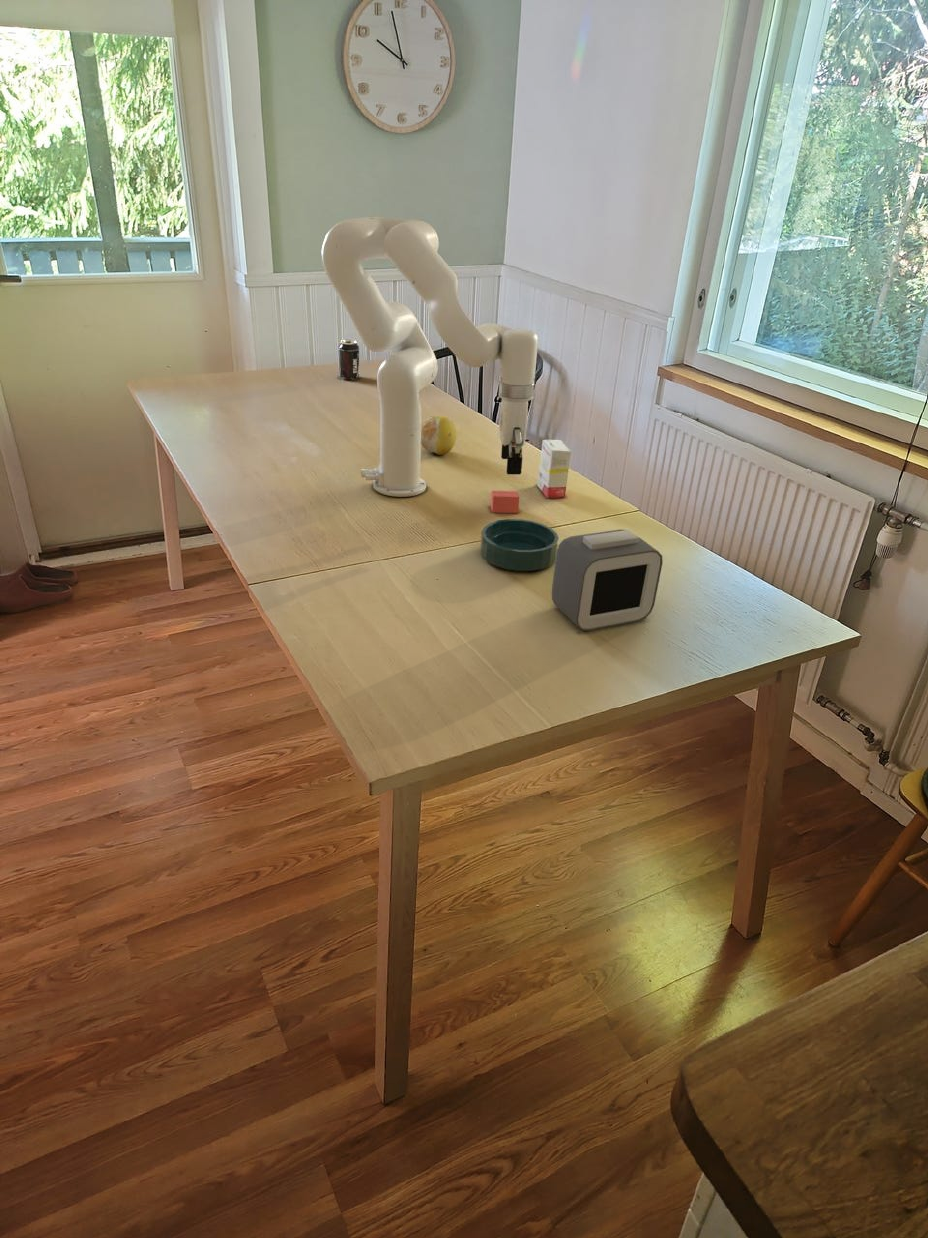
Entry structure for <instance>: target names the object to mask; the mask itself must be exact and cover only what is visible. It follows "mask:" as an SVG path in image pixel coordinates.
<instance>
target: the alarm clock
mask: <svg viewBox="0 0 928 1238" xmlns="http://www.w3.org/2000/svg"><path fill="white" fill-rule="evenodd" d="M662 569H663V555H662V554H661V553H660V551H658V550H657V549H656V548H655V547H653V546H652V545H650V544H649V543H648V542H647V541H645V540H644V539H642V538H641V537H640V536H638V535H637V534H636V533H634V532H633V531H631V530H630V529H614V530H606V531H599V532H592V533H586V534H578V535H573V536H572V535H570V536H568V537H566V538H564V539H563V540H561V541H560V543H558V548H557V553H556V559H555V562H554V569H553V577H552V585H551V593H550V594H551V600H552V602H553V604H554V605H555V606H556V607H557V608H558V610H560V611H561V612H562V613H563V614H564V615H565V616H566V617H567V618H568V620H570V621H571V622H572V623H573V624H574V625H575V626H576V627H577V628H578V629H580V630H581V631H583V632H592V631H596V630H602V629H607V628H612V627H617V626H622V625H627V624H632V623H638V622H641V621H643V620H645V619H646V618H647V617H649V615H651V613H652V611H653V610H654V607H655V602H656V598H657V593H658V587H659V582H660V578H661V574H662Z"/></svg>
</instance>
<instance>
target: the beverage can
mask: <svg viewBox="0 0 928 1238" xmlns="http://www.w3.org/2000/svg"><path fill="white" fill-rule="evenodd" d="M339 341H340V342H339V344H338V346H337V348H338V349H337V351H338V353H337V354H338V377H339V378H341V379H342V380H345V381H353V380H357V379H358V378H359V377H360V346H359V344H358V341H357V340H355V339H341V340H339Z"/></svg>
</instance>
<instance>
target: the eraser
mask: <svg viewBox="0 0 928 1238" xmlns="http://www.w3.org/2000/svg"><path fill="white" fill-rule="evenodd" d="M519 507H520V495H519V491H515V490H514V491H511V490H510V491H509V490H491V499H490V509H491V513H493V514H495V513H496V514H519Z"/></svg>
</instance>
